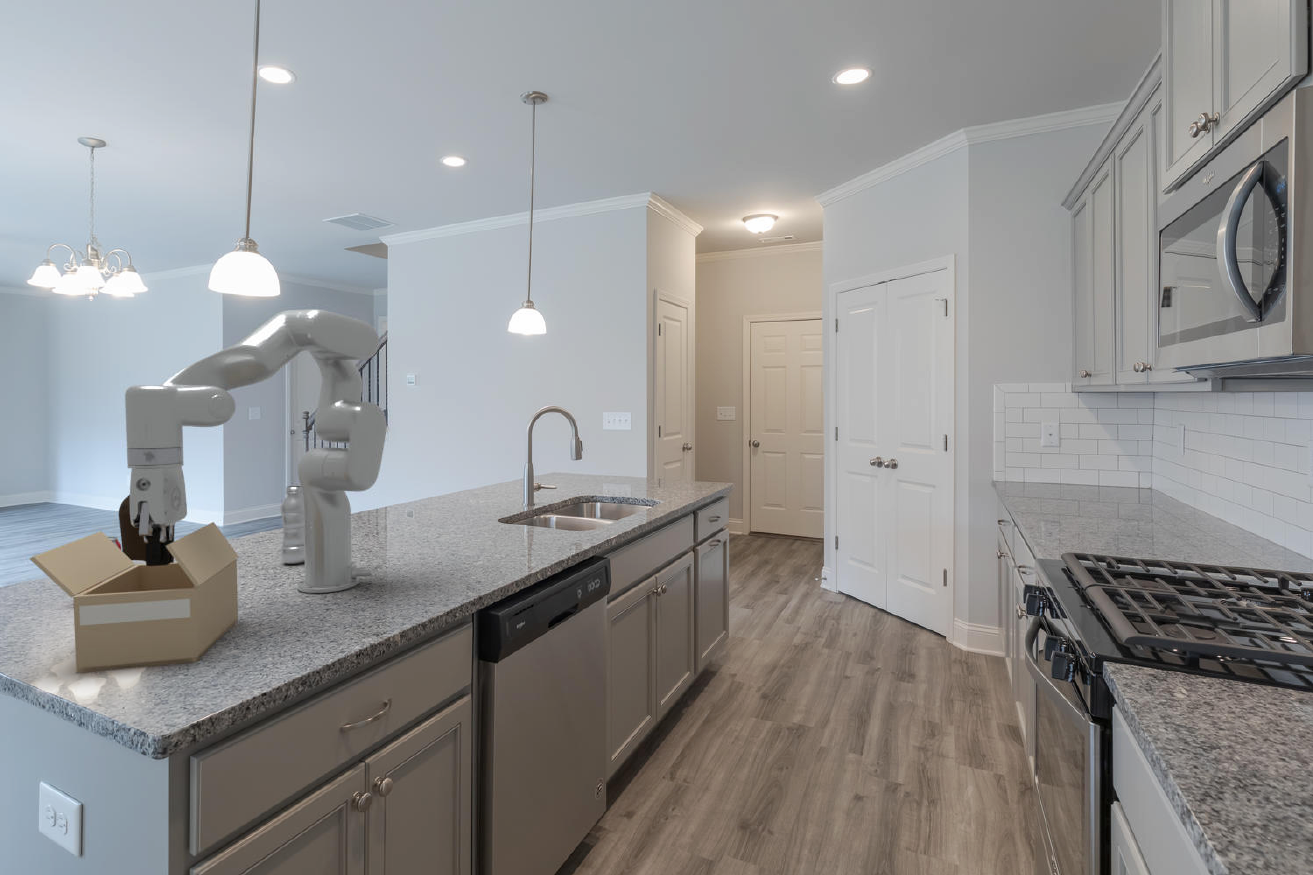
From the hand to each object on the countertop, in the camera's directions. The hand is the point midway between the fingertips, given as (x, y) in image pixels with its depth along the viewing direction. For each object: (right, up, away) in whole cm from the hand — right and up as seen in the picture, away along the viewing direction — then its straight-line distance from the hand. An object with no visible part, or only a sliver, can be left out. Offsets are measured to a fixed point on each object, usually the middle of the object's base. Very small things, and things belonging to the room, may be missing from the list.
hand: (159, 564), depth 110 cm
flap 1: (-9, +1, -3) cm, 10 cm away
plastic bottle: (-8, -11, +56) cm, 57 cm away
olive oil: (-37, -11, +45) cm, 59 cm away
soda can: (-31, -13, +24) cm, 41 cm away
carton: (0, -14, +1) cm, 14 cm away
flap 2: (+6, +2, +2) cm, 7 cm away
